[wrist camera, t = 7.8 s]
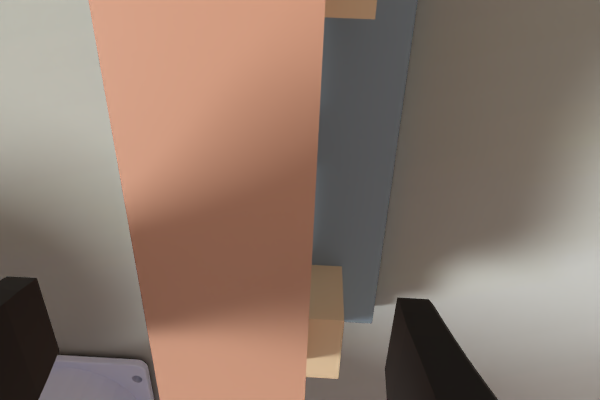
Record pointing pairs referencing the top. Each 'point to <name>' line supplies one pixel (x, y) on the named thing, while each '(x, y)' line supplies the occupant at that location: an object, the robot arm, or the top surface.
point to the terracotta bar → (218, 183)
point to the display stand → (354, 165)
